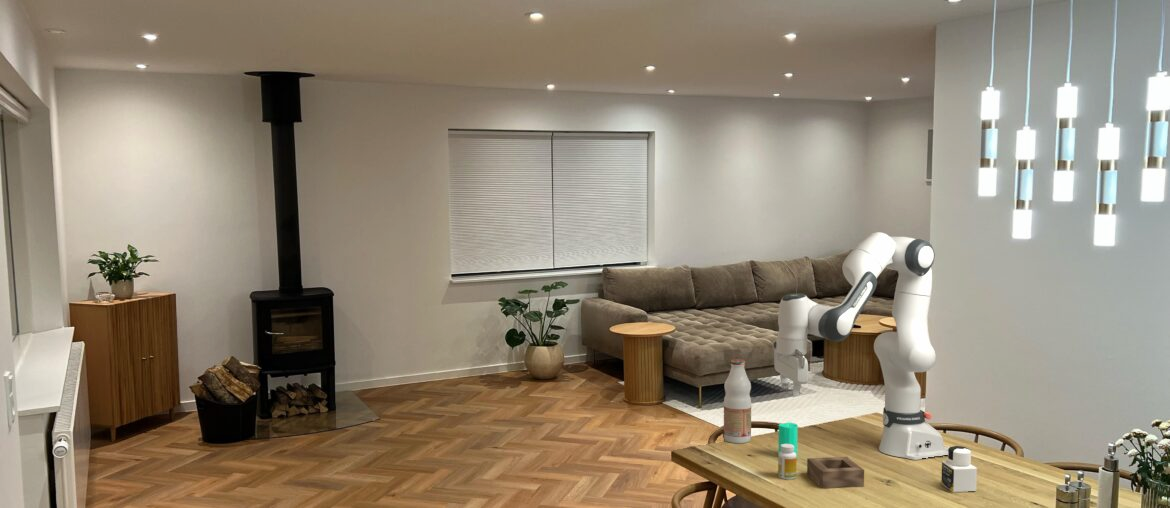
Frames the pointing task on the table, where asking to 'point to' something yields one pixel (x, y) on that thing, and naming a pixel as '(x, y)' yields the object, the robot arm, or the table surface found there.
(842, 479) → the well block
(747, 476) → the table surface
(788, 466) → the supplement bottle
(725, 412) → the fruit juice
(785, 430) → the candle
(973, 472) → the medicine bottle
